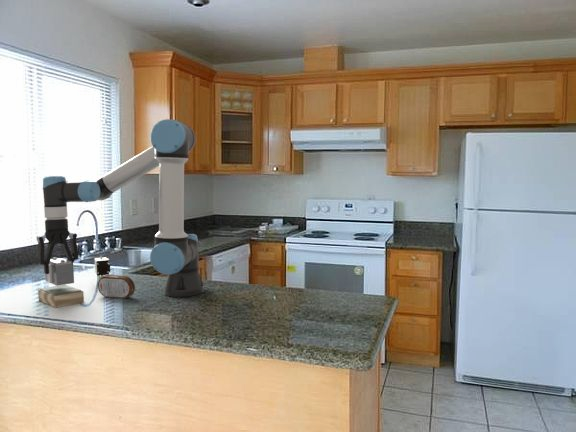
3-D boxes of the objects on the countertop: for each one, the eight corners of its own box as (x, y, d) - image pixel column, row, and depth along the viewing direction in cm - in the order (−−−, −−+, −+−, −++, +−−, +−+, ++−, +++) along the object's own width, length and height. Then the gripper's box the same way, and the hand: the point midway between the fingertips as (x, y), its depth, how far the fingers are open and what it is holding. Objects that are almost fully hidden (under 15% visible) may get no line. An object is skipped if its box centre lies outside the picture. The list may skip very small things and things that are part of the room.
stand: (83, 301, 176) (83, 290, 176) (55, 307, 169) (54, 295, 169) (66, 295, 187) (65, 284, 187) (38, 300, 180) (38, 288, 180)
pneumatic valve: (98, 287, 200) (96, 258, 199) (95, 282, 210) (94, 255, 209) (112, 285, 202) (110, 257, 201) (108, 280, 213) (107, 254, 212)
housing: (62, 278, 184) (61, 256, 183) (74, 282, 175) (72, 259, 175) (45, 280, 180) (44, 258, 179) (56, 285, 171) (55, 261, 170)
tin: (135, 297, 181) (134, 275, 181) (130, 299, 178) (129, 277, 178) (102, 295, 186) (101, 274, 185) (96, 297, 183) (95, 275, 182)
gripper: (78, 216, 185) (81, 275, 187) (24, 219, 171) (28, 283, 173) (86, 217, 180) (89, 278, 182) (31, 220, 166) (35, 286, 168)
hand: (59, 280), depth 177 cm, fingers closed on housing, 6 cm apart
